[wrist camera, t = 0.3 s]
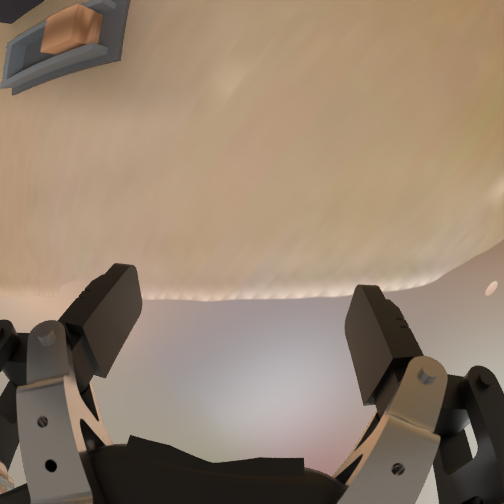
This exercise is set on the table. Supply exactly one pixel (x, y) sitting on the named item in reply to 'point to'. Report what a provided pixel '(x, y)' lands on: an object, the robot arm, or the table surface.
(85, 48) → the chute
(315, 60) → the table surface
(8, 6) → the dark grey upright box
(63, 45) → the block
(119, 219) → the table surface
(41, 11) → the table surface
